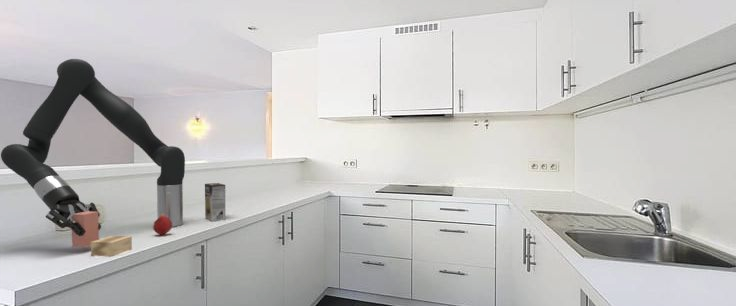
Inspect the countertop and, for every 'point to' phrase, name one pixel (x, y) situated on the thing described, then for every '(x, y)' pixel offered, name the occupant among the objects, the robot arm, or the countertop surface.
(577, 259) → the countertop surface
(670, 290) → the countertop surface
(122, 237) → the oak base block
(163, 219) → the onion
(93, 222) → the red pillar block
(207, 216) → the coffee box
